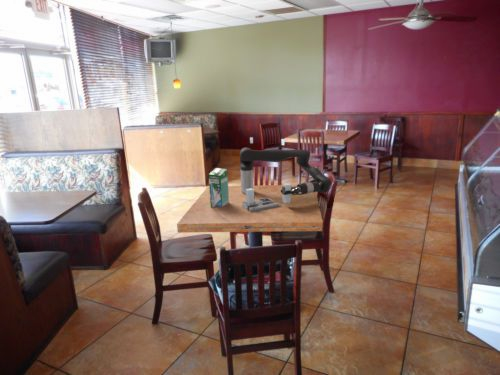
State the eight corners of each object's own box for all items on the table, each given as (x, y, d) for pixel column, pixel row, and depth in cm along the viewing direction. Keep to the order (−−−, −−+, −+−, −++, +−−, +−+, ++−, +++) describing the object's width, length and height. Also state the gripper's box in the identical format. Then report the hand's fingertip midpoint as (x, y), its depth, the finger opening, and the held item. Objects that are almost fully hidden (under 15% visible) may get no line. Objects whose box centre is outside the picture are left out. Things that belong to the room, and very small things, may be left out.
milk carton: (210, 207, 238) (208, 170, 231) (217, 203, 246) (215, 167, 239) (222, 209, 234) (220, 171, 227) (229, 204, 242) (227, 168, 235)
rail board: (240, 207, 236) (240, 201, 235) (270, 202, 245) (270, 195, 244) (251, 215, 222) (251, 208, 221) (282, 209, 231) (282, 202, 230)
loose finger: (281, 201, 235) (281, 184, 231) (287, 200, 237) (287, 183, 233) (284, 203, 231) (284, 185, 228) (290, 202, 233) (291, 184, 230)
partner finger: (246, 206, 233) (245, 189, 230) (252, 205, 235) (252, 187, 232) (248, 208, 230) (248, 190, 226) (255, 207, 231) (254, 189, 228)
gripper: (299, 180, 243) (277, 183, 236) (311, 185, 231) (288, 189, 224) (299, 191, 245) (277, 194, 238) (311, 196, 233) (288, 200, 226)
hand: (283, 192), depth 231 cm, fingers closed on loose finger, 4 cm apart
